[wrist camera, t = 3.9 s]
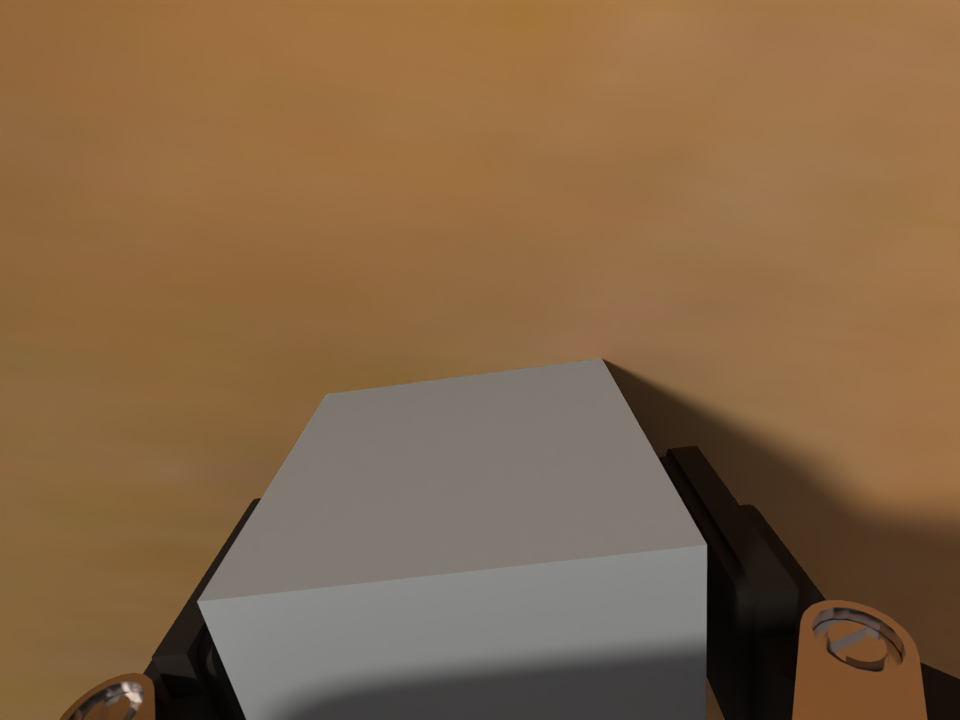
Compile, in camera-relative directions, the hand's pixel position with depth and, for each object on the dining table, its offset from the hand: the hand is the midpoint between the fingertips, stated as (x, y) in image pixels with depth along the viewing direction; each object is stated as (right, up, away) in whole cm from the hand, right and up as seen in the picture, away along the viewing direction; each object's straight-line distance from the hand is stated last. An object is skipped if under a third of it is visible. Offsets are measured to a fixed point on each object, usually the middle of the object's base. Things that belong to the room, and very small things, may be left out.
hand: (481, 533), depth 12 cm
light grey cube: (0, +1, +1) cm, 1 cm away
